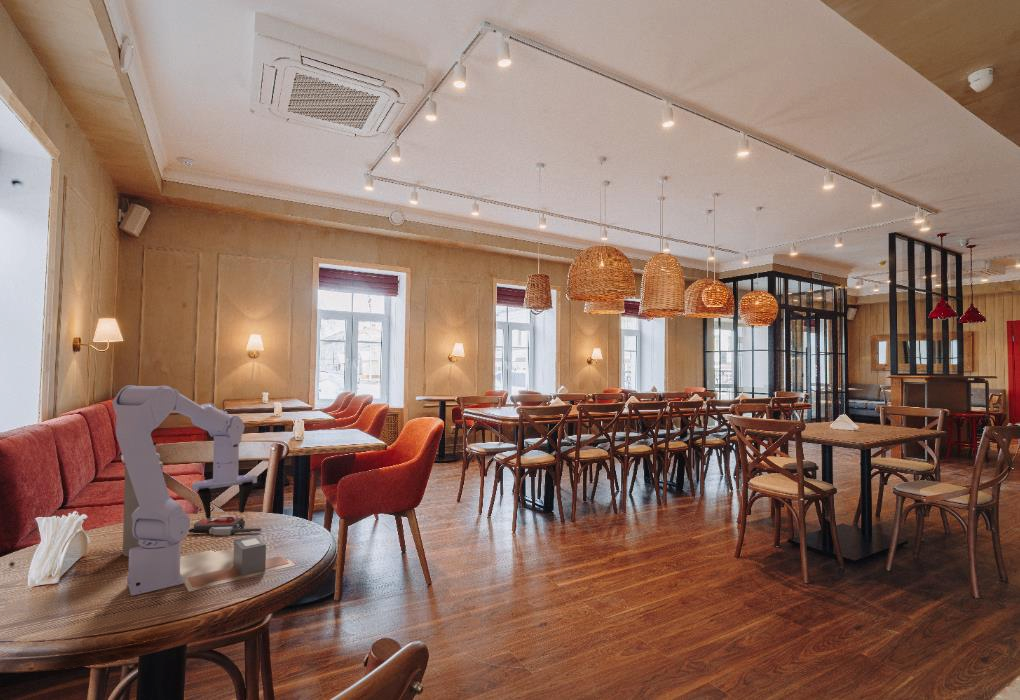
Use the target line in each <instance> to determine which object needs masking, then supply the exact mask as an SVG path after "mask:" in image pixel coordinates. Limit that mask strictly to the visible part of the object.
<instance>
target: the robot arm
mask: <svg viewBox="0 0 1020 700" xmlns="http://www.w3.org/2000/svg"><path fill="white" fill-rule="evenodd" d="M111 404H112V407H113V411H114V414H115V418H116V421H115V437H116V440H117V443H118V446H119V448H120V452H121V455H122V458H123V461H124V465H126V467H127V470H128V473H129V476H130V479H131V482H132V485H133V488H134V491H135V494H136V497H137V501H138V504H139V507H138V508H137V509H136V510H135V511H134V512H133V513H132V515H131V516H132V519H133V526H132V533H133V536H134V537H135V538H136V539H138V540H139V542H138V544H139V545H140V546H138V547H135V548H131V549H130V550H129V557H128V569H127V570H128V574H127V577H126V584H127V586H128V590H129V593H130V597H131V596H132V597H133V596H137V595H138V596H139V595H141V594H146V593H149V592H155V591H157V590H158V591H159V590H162V589H166V588H170V587H171V588H172V587H174V586H179V585H183V584H185V583H184V579H183V577H182V575H181V573H180V556H181V545H182V544H181V543H182V541H185V540H184V538H185V537H186V536H187V534H188V533H189V529H191V528H190V527H191V519H190V516H189V515H188V514H187V513H186V512H185V511H184V508H183V506H182V504H180V503H179V502H177V501H176V500H174V499H173V498H171V496H170V494H169V491H168V487H167V484H166V481H165V477H164V474H163V473H162V470H161V467H160V464H159V460H158V457H157V454H156V452H157V450H156V451H155V447H156V446H155V447H154V444H153V439H152V435H151V434H152V432H153V430H156V429H157V428H158V427H159V426H160V425H161V424H162V422H164V421H165V419H166V418H167V417H168V416H169V415H170V414H171V413H172V412H174V413H177V414H178V415H179V414H180V415H182V416H185V417H187V418H190V421H191V424H192V425H193V426H195V427H197V428H200V429H201V430H204V431H206V432H208V435H209V436H210V437H211V438H212V437H213V462H212V464H213V465H212V466H213V467H212V478H210V479H205V480H200V481H195V482H194V481H193V482H192V484H191V485H192V486H191V488H192V491H193V493H194V492H196V494H198V496H199V499H200V500H201V503H202V505H203V509H204V514H205V519H209V518H210V517H211V515H212V514H211V511H212V510H211V502H212V501H211V500H212V493H211V489H217V488H224V487H232V486H238V491H239V492H238V493H239V495H238V496H239V502H238V512H239V513H240V514H244V513H245V509H246V504H247V501H248V499H249V496H250V494H251V493H252V491H253V489H254V484H257V483H258V475H257V474H249V475H248V474H246V475H244V474H243V475H239V461H240V460H239V458H240V454H239V453H240V444H241V442H242V436H243V434H244V432H245V428H246V427H245V424H244V421H243V418H241V417H240V416H238V415H230V414H229V413H228V411H226V410H221V409H219V408H217V407H216V404H214V403H210V402H209V403H202V404H199V403H196V402H195V401H193V400H191V399H190V398H188V397H186V396H185V395H183V394H182V393H180V391H179V390H178V389H175V388H173V387H171V386H169V385H159V386H157V385H156V386H155V385H153V386H151V385H149V386H148V385H132V384H129V385H125V386H123V387H122V388H121V389H119V391H118V392H117V394H116V395H115V397H114V399H113V400H112V403H111Z"/></svg>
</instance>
